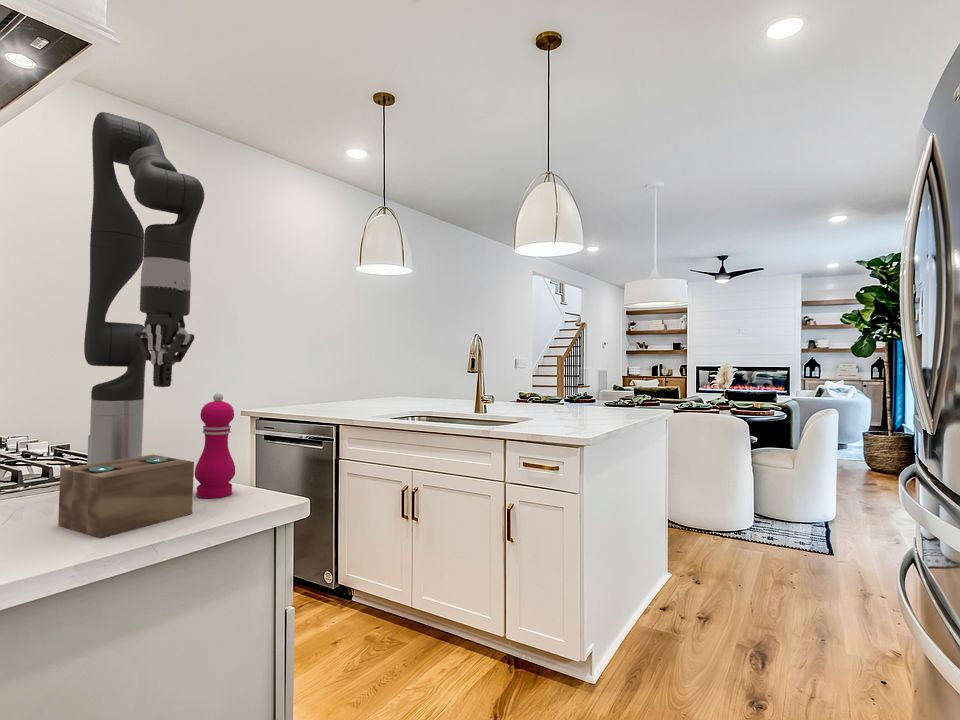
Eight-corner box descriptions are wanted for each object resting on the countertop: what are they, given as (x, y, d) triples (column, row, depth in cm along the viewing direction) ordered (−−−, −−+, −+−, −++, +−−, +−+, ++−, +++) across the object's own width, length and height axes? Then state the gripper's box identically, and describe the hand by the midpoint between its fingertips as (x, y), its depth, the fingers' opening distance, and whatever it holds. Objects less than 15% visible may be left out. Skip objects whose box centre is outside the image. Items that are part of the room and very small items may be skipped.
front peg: (82, 519, 85) (84, 468, 85) (104, 513, 88) (106, 464, 88) (95, 522, 83) (97, 470, 83) (116, 517, 86) (118, 467, 86)
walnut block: (58, 525, 85) (60, 468, 85) (151, 503, 99) (152, 454, 99) (100, 538, 80) (102, 477, 80) (192, 513, 94) (194, 461, 94)
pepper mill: (204, 501, 102) (208, 395, 102) (186, 494, 106) (190, 392, 106) (241, 494, 107) (245, 394, 107) (223, 488, 112) (226, 391, 112)
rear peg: (140, 505, 93) (141, 459, 93) (157, 501, 96) (159, 456, 96) (152, 508, 91) (153, 461, 91) (169, 504, 94) (171, 458, 94)
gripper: (120, 284, 93) (116, 384, 93) (170, 283, 88) (166, 390, 88) (161, 289, 100) (158, 383, 100) (211, 289, 94) (207, 388, 95)
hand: (162, 386), depth 94 cm, fingers closed
